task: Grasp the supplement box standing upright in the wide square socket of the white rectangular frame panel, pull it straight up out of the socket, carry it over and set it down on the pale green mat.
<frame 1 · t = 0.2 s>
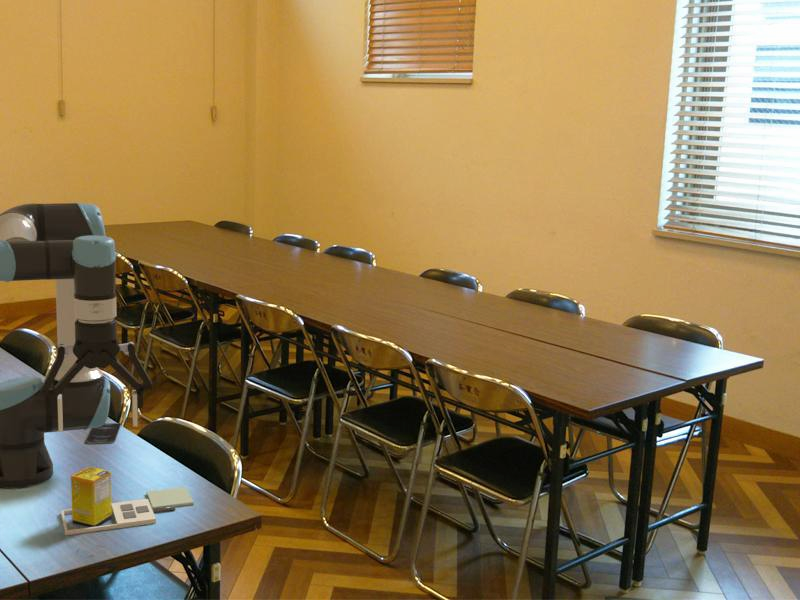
hand: (98, 427, 182), 27 cm above the table, fingers open, 13 cm apart
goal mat: (169, 499, 217), on the table
supplement box: (92, 521, 204), resting in white rectangular frame panel
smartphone: (103, 435, 256), on the table
white rectangular frame panel: (90, 520, 204), on the table
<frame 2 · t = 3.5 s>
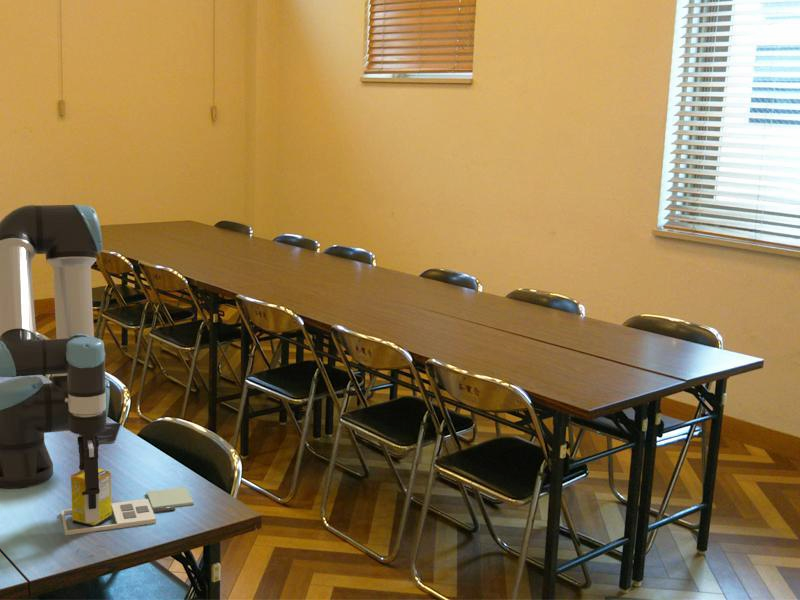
hand: (89, 512, 204), 2 cm above the table, fingers closed on supplement box, 8 cm apart
supplement box: (92, 521, 204), resting in white rectangular frame panel, touching gripper
everything else where it was.
when the fingers open (4 cm above the table, at t = 10.9 s): supplement box drops 1 cm, resting on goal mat.
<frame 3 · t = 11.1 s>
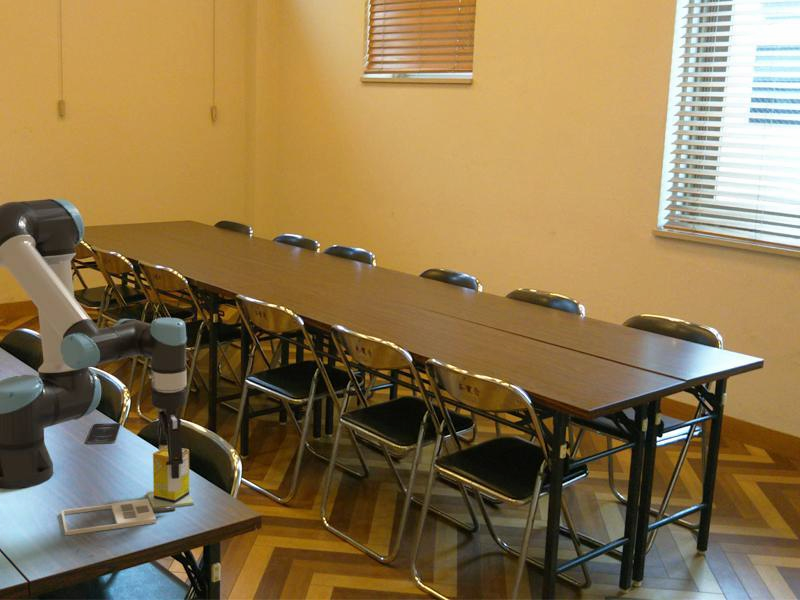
hand: (169, 481, 216), 4 cm above the table, fingers open, 10 cm apart
supplement box: (171, 497, 217), resting on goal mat
everything else where it was.
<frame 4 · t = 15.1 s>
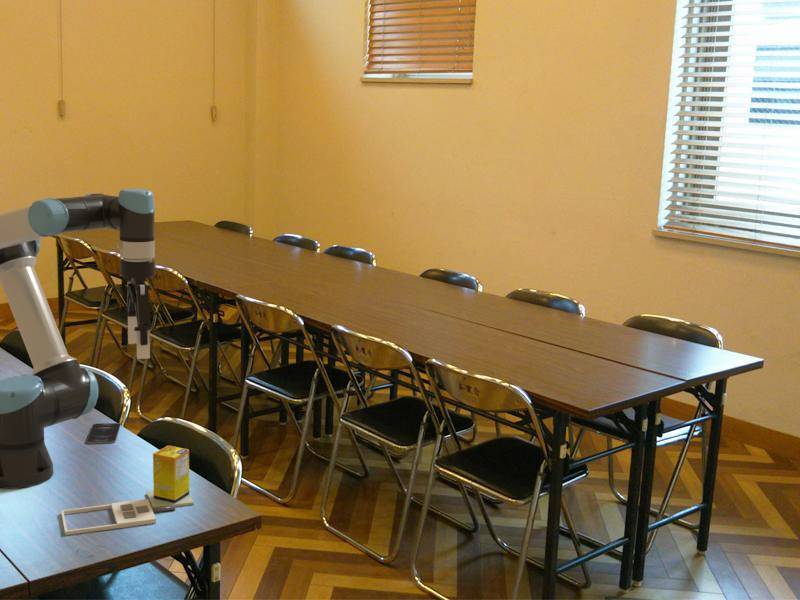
hand: (138, 350, 217), 33 cm above the table, fingers open, 13 cm apart
nothing on the table moved.
at the end: supplement box inside the target area on the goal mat (0.4 cm from its centre), point 0.4 cm above the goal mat's base; supplement box tilted 0°; the gripper is holding nothing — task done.
